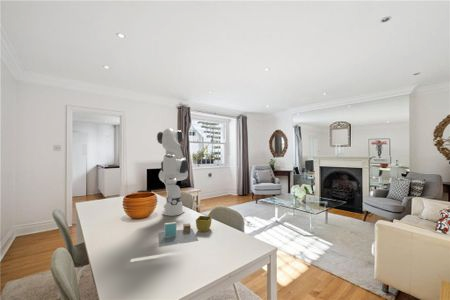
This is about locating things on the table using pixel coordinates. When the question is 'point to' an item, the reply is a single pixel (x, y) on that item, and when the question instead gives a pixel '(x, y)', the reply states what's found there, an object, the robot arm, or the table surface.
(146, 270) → the table surface
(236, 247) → the table surface
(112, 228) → the table surface
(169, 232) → the tile
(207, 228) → the flower pot
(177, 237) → the board
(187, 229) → the walnut block
